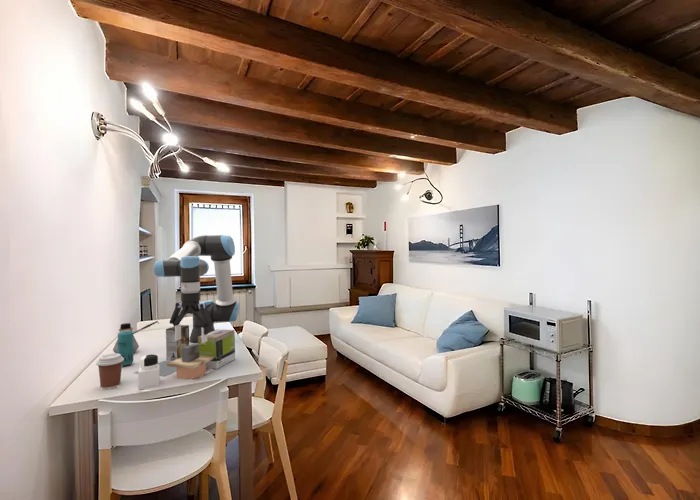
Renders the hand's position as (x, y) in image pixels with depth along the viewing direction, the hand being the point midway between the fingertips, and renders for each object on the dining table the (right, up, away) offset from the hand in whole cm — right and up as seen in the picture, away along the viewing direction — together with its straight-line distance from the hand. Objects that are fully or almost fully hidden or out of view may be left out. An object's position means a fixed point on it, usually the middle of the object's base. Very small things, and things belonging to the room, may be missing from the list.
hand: (191, 341), depth 149 cm
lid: (0, -9, 0) cm, 9 cm away
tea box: (+6, -15, +15) cm, 22 cm away
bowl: (0, -15, 0) cm, 15 cm away
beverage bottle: (-36, -15, +12) cm, 41 cm away
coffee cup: (-27, -15, -12) cm, 33 cm away
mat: (-15, -15, +7) cm, 23 cm away
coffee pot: (-46, -15, +36) cm, 60 cm away
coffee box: (-17, -15, +22) cm, 31 cm away
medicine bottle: (-11, -15, -12) cm, 22 cm away
